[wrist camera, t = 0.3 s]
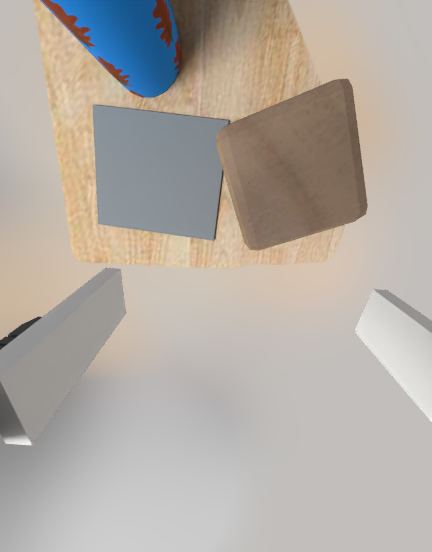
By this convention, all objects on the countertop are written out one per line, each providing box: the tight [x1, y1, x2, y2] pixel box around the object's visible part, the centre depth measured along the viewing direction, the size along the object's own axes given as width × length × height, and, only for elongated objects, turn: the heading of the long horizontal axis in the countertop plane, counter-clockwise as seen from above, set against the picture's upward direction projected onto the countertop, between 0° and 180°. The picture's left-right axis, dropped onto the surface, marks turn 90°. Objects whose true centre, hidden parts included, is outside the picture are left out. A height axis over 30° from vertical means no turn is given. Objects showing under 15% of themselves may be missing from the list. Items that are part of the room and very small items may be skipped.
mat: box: [93, 105, 229, 240], centre depth 35 cm, size 18×21×1 cm
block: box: [216, 79, 367, 250], centre depth 25 cm, size 10×10×20 cm
